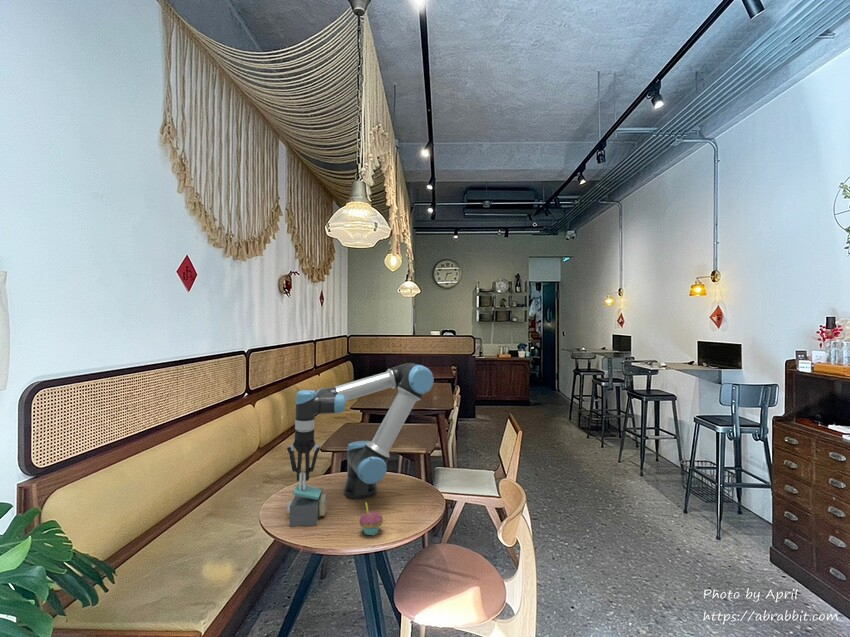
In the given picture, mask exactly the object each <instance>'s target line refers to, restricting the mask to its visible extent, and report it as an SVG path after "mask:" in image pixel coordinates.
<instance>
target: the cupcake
mask: <svg viewBox="0 0 850 637" xmlns="http://www.w3.org/2000/svg"><path fill="white" fill-rule="evenodd" d="M365 509H366V510H365V511H366V512H365V513H364V514H362V515H361V516H360V518H359V525H360V527H362V529H363V533H364V535H365V534H367V535H373V534H376V533H377V534H378V532H379V528H380V527H381V526H382V525H383V523H384V521H383V518H382V515H381V514H379V513H378V512H376V511H375V512H374V511H369V507H368V502H367V501H365ZM377 534H376V535H377ZM367 535H366V536H367Z"/></svg>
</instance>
